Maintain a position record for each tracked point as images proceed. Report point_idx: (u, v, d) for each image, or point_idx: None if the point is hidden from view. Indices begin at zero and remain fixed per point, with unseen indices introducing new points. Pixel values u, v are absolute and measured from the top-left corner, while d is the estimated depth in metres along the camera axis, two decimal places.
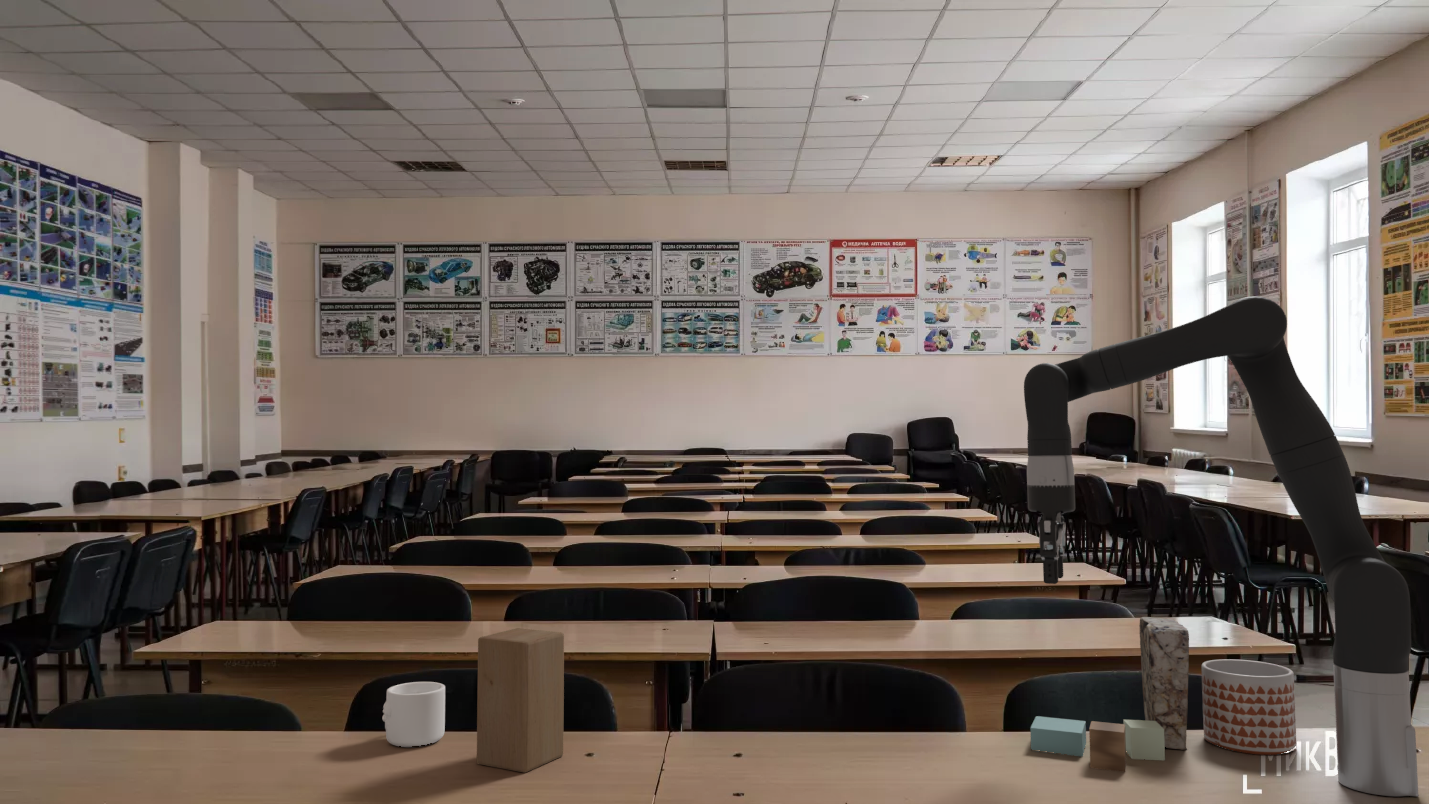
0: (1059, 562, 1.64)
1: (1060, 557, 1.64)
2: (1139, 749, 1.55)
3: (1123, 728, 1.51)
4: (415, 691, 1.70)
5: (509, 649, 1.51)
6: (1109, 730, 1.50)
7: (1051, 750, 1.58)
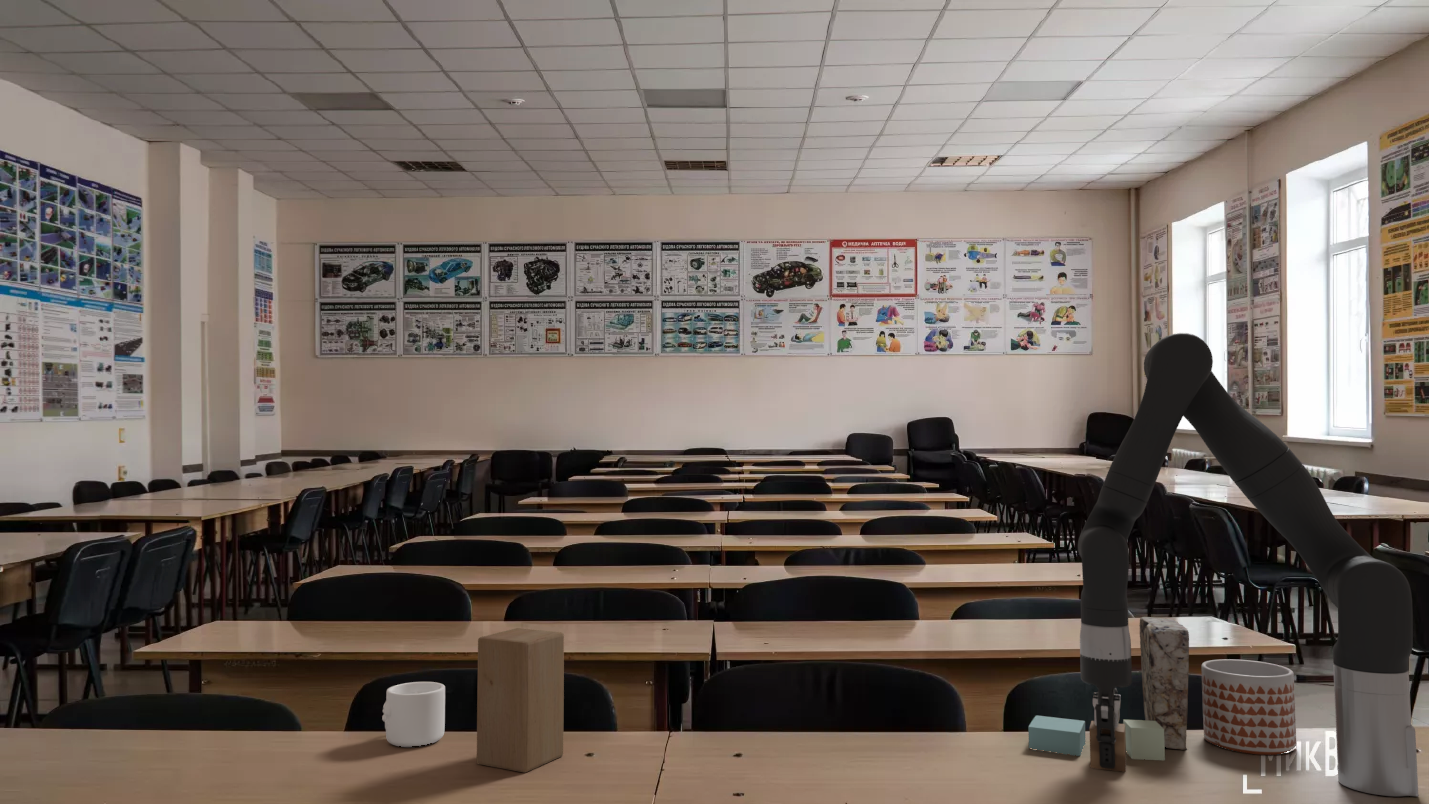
0: None
1: None
2: (1139, 749, 1.55)
3: (1123, 728, 1.51)
4: (415, 691, 1.70)
5: (509, 649, 1.51)
6: (1109, 730, 1.50)
7: (1049, 749, 1.59)
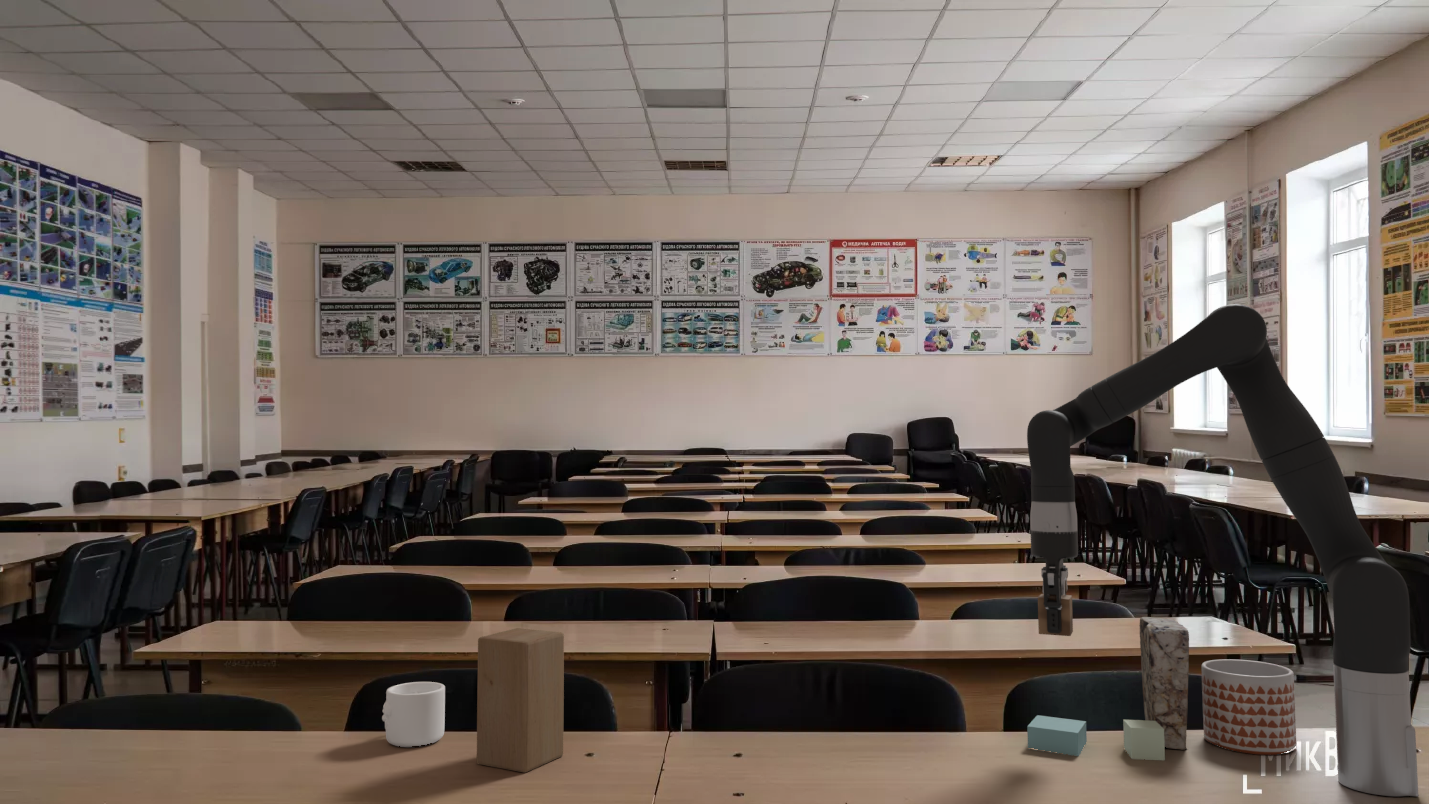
0: None
1: None
2: (1139, 749, 1.55)
3: (1069, 597, 1.62)
4: (415, 691, 1.70)
5: (509, 649, 1.51)
6: (1056, 598, 1.61)
7: (1047, 749, 1.59)
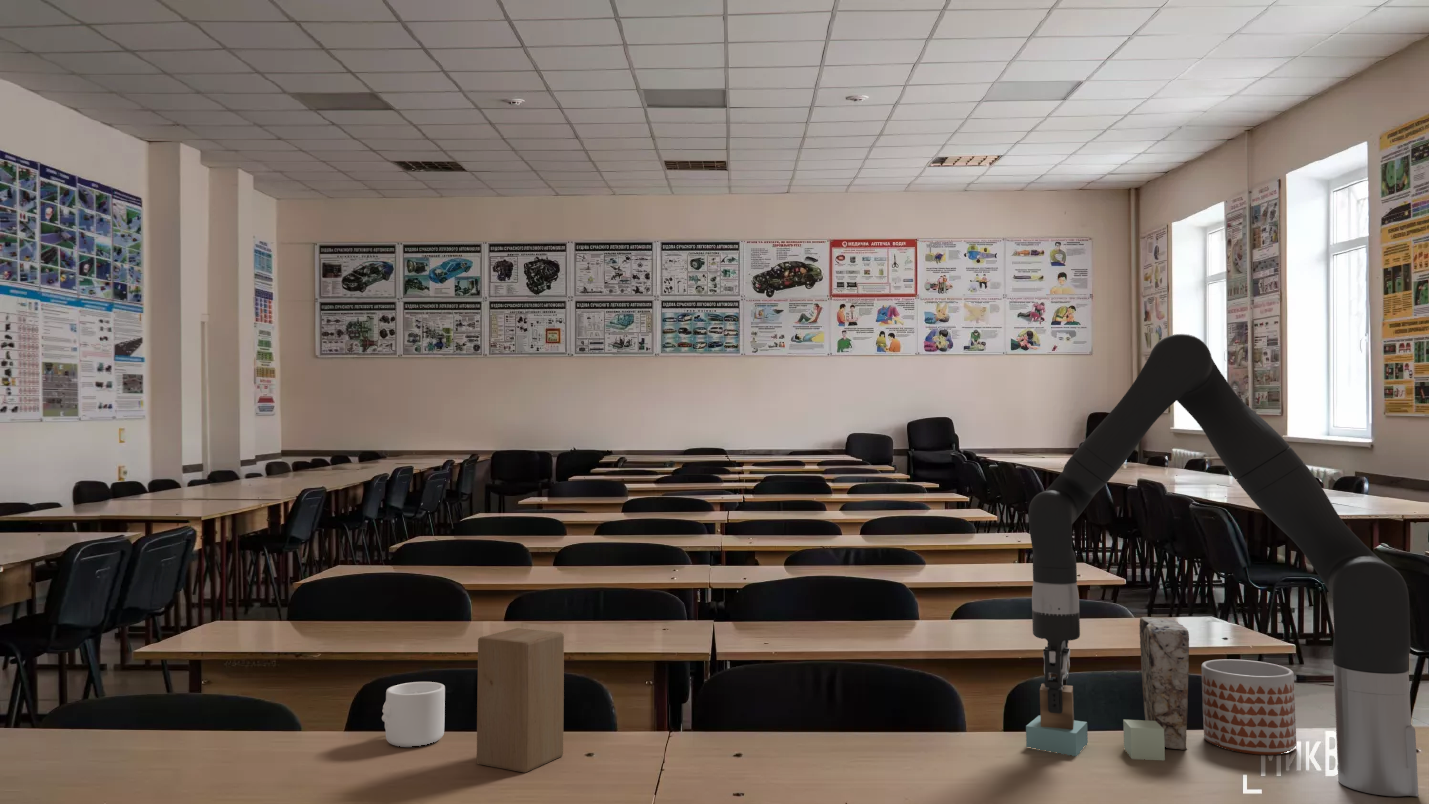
0: None
1: (1064, 681, 1.65)
2: (1139, 749, 1.55)
3: (1071, 689, 1.61)
4: (415, 691, 1.70)
5: (509, 649, 1.51)
6: None
7: (1046, 749, 1.59)
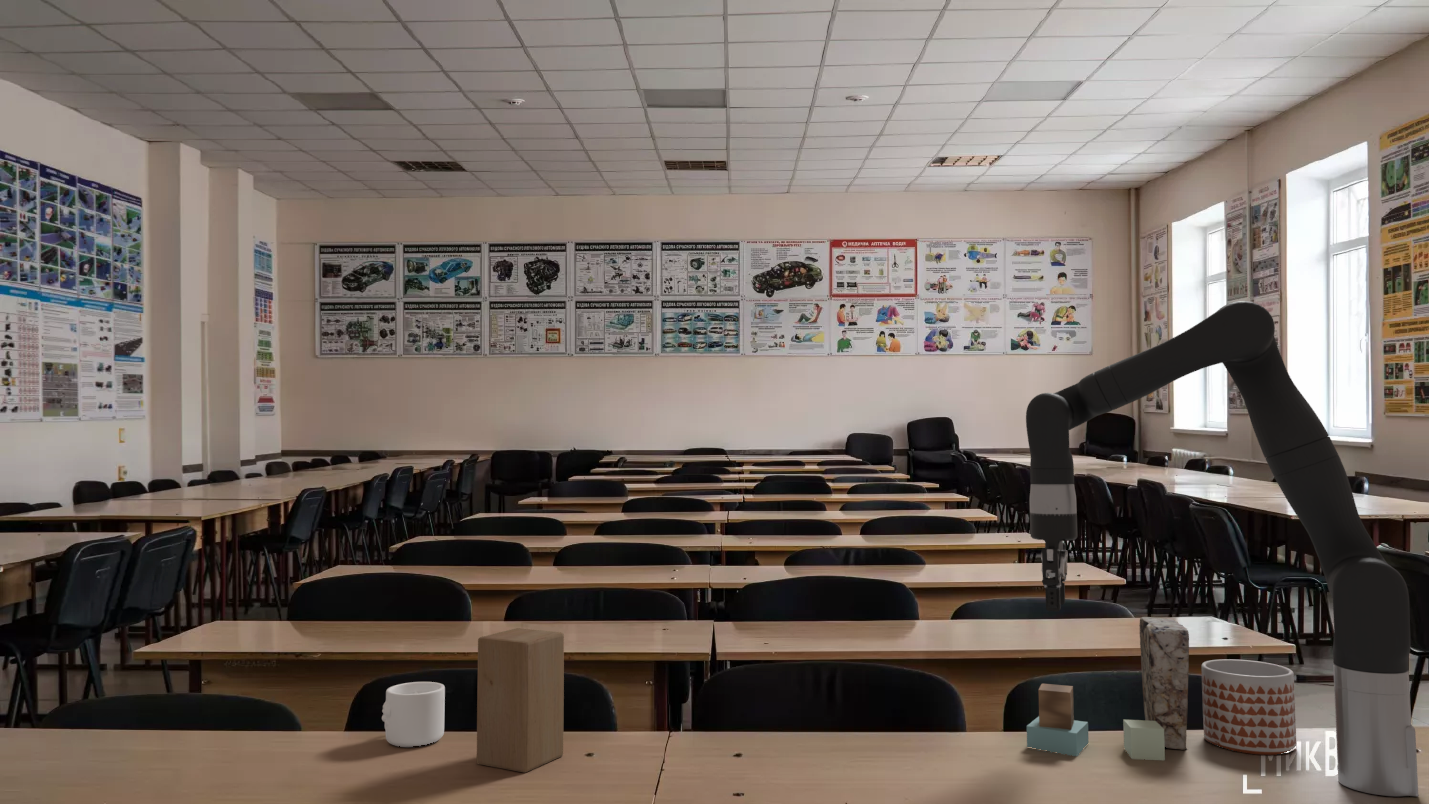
0: (1061, 589, 1.66)
1: (1062, 584, 1.66)
2: (1139, 749, 1.55)
3: (1070, 689, 1.61)
4: (415, 691, 1.70)
5: (509, 649, 1.51)
6: (1057, 691, 1.60)
7: (1046, 749, 1.59)
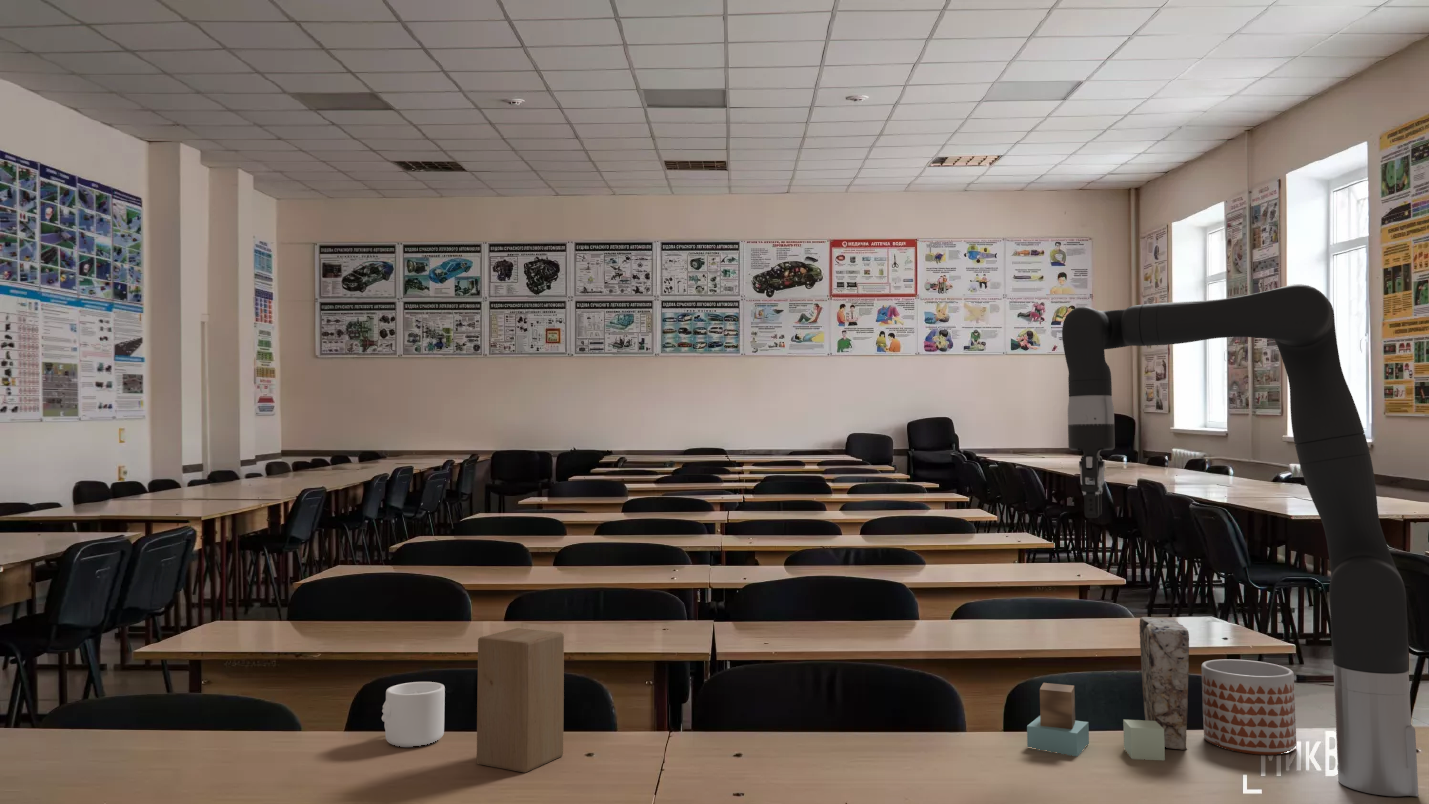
0: (1098, 500, 1.70)
1: (1099, 495, 1.70)
2: (1139, 749, 1.55)
3: (1071, 689, 1.61)
4: (414, 691, 1.70)
5: (509, 649, 1.51)
6: (1058, 690, 1.60)
7: (1047, 749, 1.59)
